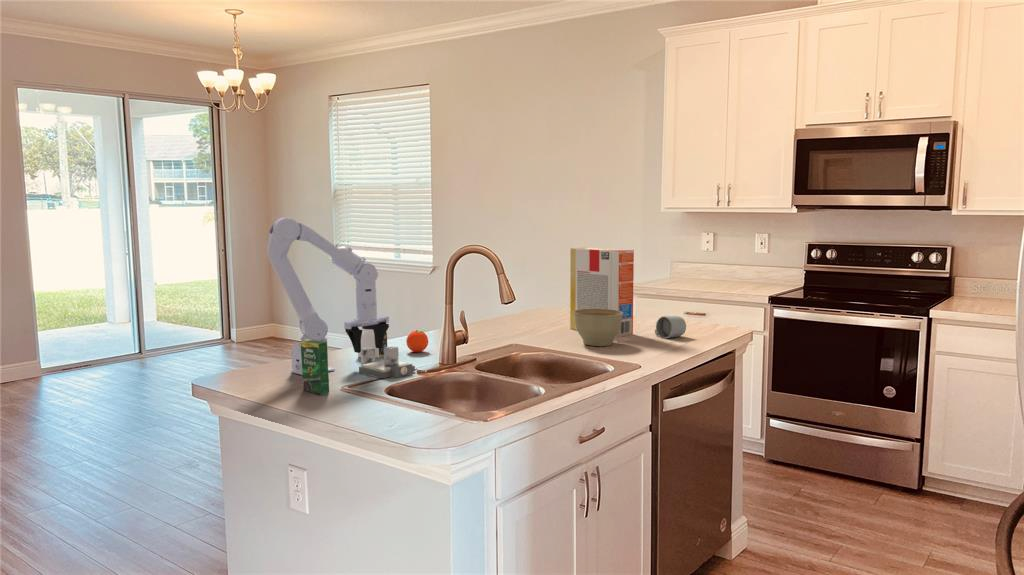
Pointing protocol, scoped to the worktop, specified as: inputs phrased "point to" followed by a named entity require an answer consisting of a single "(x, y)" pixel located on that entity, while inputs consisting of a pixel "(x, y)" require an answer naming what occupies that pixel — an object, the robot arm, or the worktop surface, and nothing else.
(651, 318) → the worktop surface
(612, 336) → the planter bowl
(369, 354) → the spacer
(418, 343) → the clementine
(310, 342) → the green cardboard box
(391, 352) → the spacer
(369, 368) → the scale
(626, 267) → the cereal box
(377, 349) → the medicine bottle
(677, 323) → the ceramic mug
